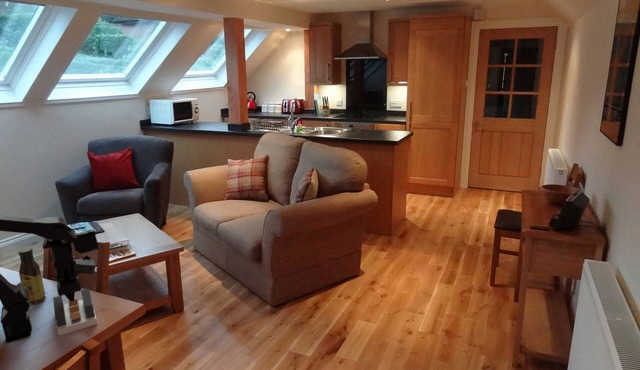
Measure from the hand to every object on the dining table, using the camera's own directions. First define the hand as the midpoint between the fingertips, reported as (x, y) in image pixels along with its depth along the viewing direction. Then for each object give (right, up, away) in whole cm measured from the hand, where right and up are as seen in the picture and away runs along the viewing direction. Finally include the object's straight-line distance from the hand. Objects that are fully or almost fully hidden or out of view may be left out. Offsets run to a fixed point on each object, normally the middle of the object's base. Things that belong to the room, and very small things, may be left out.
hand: (72, 300), depth 145 cm
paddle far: (-2, -3, +5) cm, 6 cm away
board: (0, -6, +2) cm, 7 cm away
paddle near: (+3, -5, -2) cm, 6 cm away
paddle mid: (0, -4, +1) cm, 4 cm away
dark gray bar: (+4, -3, +3) cm, 6 cm away
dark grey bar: (-3, -5, -1) cm, 6 cm away
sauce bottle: (-20, -3, +13) cm, 24 cm away
